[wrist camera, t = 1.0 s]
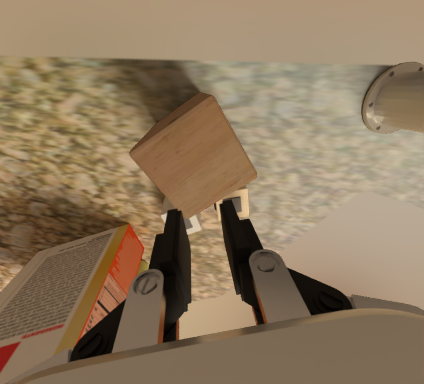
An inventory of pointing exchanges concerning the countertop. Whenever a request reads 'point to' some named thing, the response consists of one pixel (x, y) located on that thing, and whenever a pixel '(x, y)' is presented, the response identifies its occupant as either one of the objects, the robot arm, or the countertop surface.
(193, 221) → the marked grey block
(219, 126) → the wooden block
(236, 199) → the marked beech block
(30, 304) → the pasta box
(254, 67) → the countertop surface
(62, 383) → the robot arm
